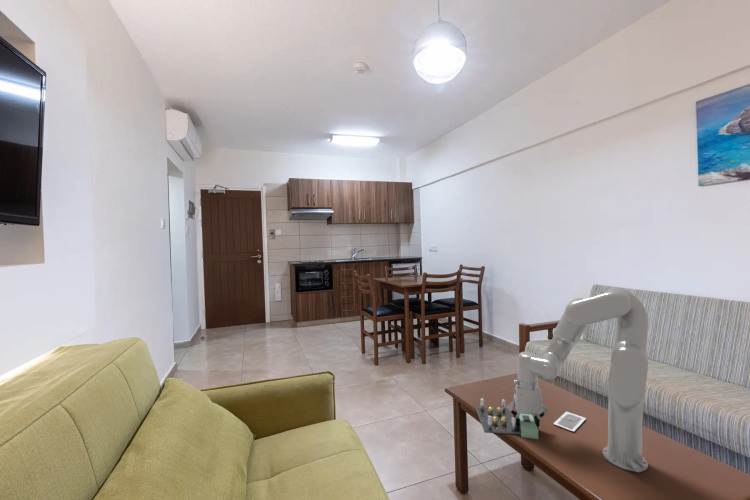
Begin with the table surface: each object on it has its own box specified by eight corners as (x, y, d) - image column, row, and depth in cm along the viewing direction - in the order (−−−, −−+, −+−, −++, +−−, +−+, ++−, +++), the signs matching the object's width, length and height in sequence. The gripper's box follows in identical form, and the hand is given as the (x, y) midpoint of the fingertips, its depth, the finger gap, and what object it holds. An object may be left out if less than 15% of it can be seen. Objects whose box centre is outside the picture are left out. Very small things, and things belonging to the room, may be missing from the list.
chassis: (520, 434, 132) (521, 419, 131) (484, 432, 133) (484, 417, 133) (508, 411, 149) (508, 398, 149) (476, 410, 151) (476, 397, 151)
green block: (538, 439, 129) (538, 428, 129) (521, 437, 130) (521, 426, 130) (532, 422, 140) (532, 413, 140) (516, 421, 142) (516, 411, 142)
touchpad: (586, 420, 142) (586, 415, 142) (573, 434, 133) (573, 428, 132) (566, 413, 148) (566, 409, 148) (553, 426, 138) (553, 421, 138)
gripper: (508, 386, 132) (507, 430, 133) (554, 388, 130) (553, 433, 131) (503, 378, 140) (502, 420, 140) (546, 380, 137) (545, 423, 138)
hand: (526, 426), depth 135 cm, fingers closed on green block, 6 cm apart
